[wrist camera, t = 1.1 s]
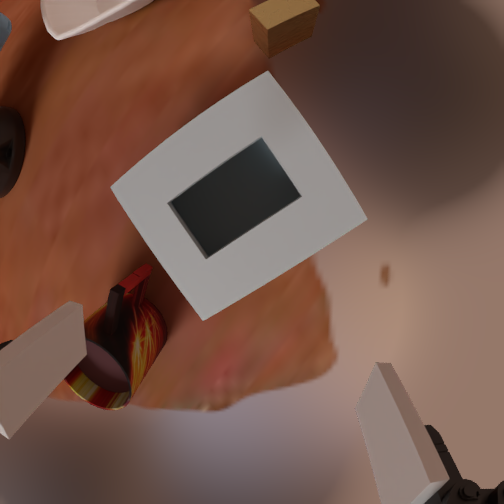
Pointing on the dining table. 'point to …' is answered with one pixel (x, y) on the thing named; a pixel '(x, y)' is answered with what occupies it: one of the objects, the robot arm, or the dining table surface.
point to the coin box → (238, 197)
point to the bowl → (84, 14)
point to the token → (282, 24)
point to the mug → (119, 345)
